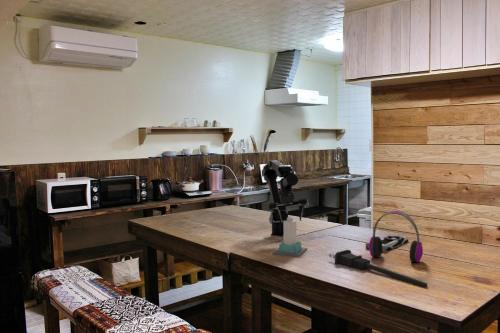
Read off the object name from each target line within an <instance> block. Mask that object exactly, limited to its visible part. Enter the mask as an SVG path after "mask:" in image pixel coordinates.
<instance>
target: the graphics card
mask: <svg viewBox="0 0 500 333" xmlns="http://www.w3.org/2000/svg"><path fill="white" fill-rule="evenodd" d="M380 239H381V241H382V253H387V254H388V251H389V252H390V251H391V250H394V249H396V248H398V247H401V246H403V245H404V244H407V243H409V238H408V236H402V235H395V234H390V235H387V236H384V237H382V238H380ZM369 244H370V242H366V243H365V250H370V249H369Z"/></svg>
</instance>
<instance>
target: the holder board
mask: <svg viewBox="0 0 500 333" xmlns="http://www.w3.org/2000/svg"><path fill="white" fill-rule="evenodd" d="M306 251H308V247H302V242H301V241H296V245H295V246H293V245H284V240H283V241H282V242H280V243H279V244H278V248H277V249H275V250H274V251H273V252H272V255H281V256H288V257H289V256H290V257H299V258H300V257H301V256H302V255H303V254H304V253H306Z"/></svg>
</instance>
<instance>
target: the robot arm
mask: <svg viewBox="0 0 500 333" xmlns="http://www.w3.org/2000/svg"><path fill="white" fill-rule="evenodd" d="M261 174H262V176H263V180H264V182H266V183H267V184H268V188H269V189H268V190H269V195H270V199H271V202H270V203H269V204H268V210H269V211H270V215H269V217H268V218H269V219H268V221H269V223H270V224H271V233H270V236H276V237H284V222H283V221H287V218H288V217H289V212H288V210H287V207H292V206H298V212H299V213H298V214H299V221H300V222H302V218H303V214H304V210H305V208H307V206H309V205H310V204H309V200H308V198H306V197H305V198H299V199H298V200H297V201H295V199H296V194H295V192H294V191H293V187H294V186H296V185H298V182H299V178H298V176H297V175H296V172H295V170H294V169H293V167H292V165H291V164H283V163H281V162H279V160H278V159H271V160H268V162H267V163H266V164H265V165H264V166H263V168H262V170H261ZM278 178H280V179H279V187H280V190H279V187H278V182H277V181H278V180H277V179H278ZM280 193H281V194H280Z"/></svg>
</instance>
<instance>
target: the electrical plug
mask: <svg viewBox="0 0 500 333" xmlns="http://www.w3.org/2000/svg"><path fill="white" fill-rule="evenodd" d="M328 256H329V258H332V259H334V264H335V265H339V264H341V265H345V266H348V268H354V269H356V270H360V271H363V270H366V269H369V270H372V271H374V272H377V273H380V274H383V275H386V276H388V277H392V278H395V279H398V280H400V281H403V282H405V281H406V283H408V282H409V283H408V284H411V283H412V285H415V286H417V285H418V287H421V288H427V287H428V283H427V282H425V281H422V280H418V279H415V278H413V277H410V276H406V275H403V274H400V273H398V272H395V271H392V270H388V269H386V268H382V267H381V266H377V265H374V264H371V260H370V259H366V258H364V257H363V256H362V255H356V254H354V253H352V251H351V250H350V249H344V250H341V251H336V252H335V254H333V253H328Z"/></svg>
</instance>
